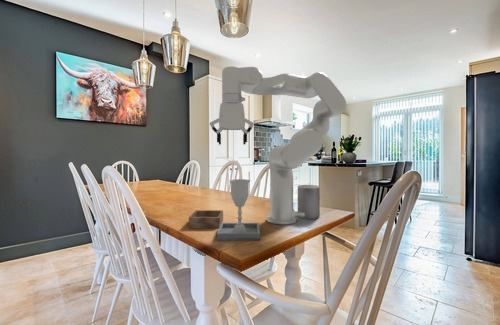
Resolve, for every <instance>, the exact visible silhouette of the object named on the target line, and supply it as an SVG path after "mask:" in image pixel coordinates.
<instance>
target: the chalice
mask: <svg viewBox="0 0 500 325" xmlns="http://www.w3.org/2000/svg"><path fill="white" fill-rule="evenodd" d="M229 183H230V196H231V199H232V201H233V204H234V205H235V207H237V208H238V211H237V220H238V222H237V223H238V224H237V225H235V227H234V230H233V233H247V231H246V228H245V226H244V225H243V224H242V223H243V222H242V219H243V217H242V214H243V211H242V208H243V207H245V204H246V203H247V200H248V198H249V195H250V192H249V191H250V188H249V187H250V183H251V179H243V178H241V179H237V178H236V179H229Z"/></svg>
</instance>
